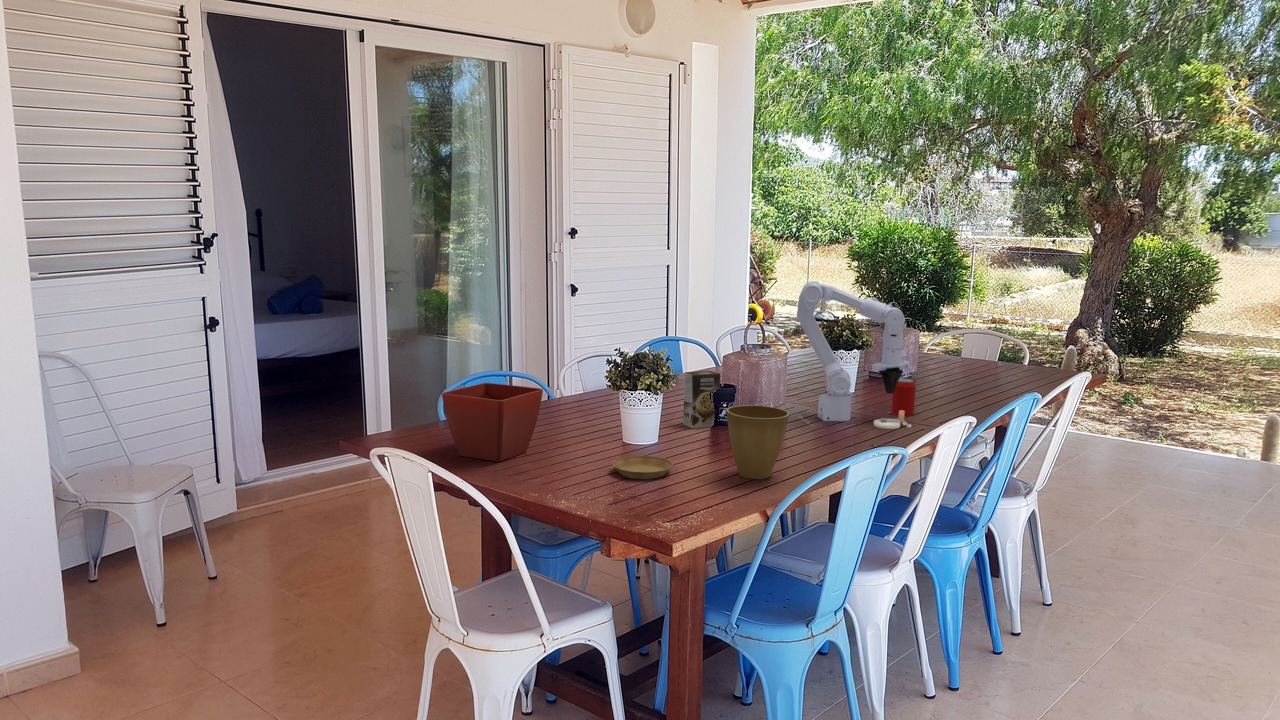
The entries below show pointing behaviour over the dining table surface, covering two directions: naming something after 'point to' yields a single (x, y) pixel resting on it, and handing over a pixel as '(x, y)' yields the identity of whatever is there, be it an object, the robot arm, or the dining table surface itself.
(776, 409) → the plant pot
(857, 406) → the dining table surface
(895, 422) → the white lever switch
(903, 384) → the beverage can
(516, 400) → the plant pot
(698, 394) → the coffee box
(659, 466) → the plant saucer
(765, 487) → the dining table surface
